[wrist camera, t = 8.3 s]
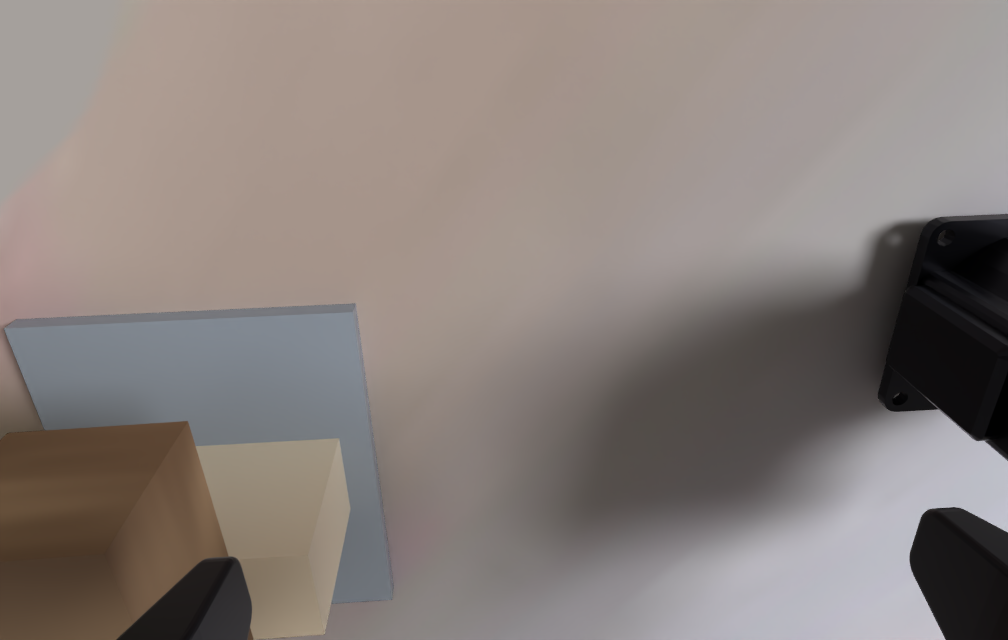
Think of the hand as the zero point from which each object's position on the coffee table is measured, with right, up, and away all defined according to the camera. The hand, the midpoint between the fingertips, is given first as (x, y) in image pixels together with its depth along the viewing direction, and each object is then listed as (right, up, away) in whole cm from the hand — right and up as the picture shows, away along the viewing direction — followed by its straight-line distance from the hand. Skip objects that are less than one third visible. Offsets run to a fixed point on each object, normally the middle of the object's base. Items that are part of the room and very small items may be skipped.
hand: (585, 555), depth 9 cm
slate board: (-10, -2, +14) cm, 18 cm away
